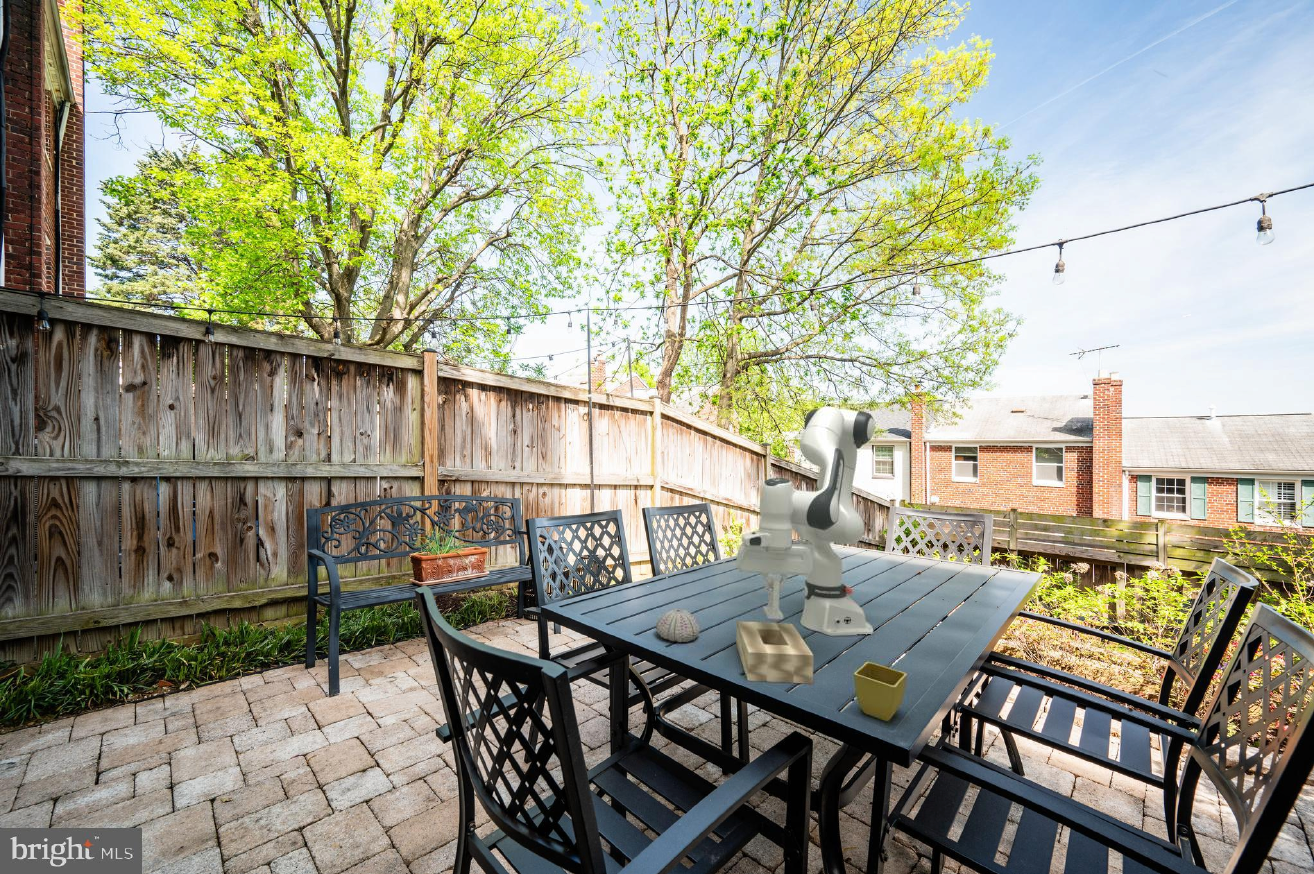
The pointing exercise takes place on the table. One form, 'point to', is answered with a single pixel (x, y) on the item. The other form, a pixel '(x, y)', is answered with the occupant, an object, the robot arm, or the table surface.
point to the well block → (774, 653)
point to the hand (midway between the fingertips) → (773, 589)
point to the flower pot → (879, 690)
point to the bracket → (773, 599)
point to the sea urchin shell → (678, 626)
